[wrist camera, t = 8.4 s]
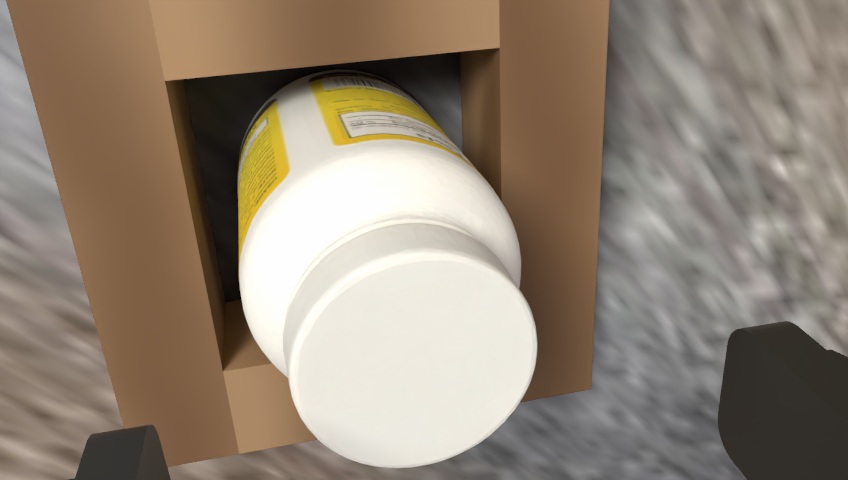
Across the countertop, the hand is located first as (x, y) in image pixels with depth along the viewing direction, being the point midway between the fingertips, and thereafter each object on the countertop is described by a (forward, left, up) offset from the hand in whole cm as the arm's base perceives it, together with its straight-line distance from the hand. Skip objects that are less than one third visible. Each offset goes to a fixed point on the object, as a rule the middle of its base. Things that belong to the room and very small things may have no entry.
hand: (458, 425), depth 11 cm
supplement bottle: (0, 0, -11) cm, 11 cm away
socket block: (0, 0, -11) cm, 11 cm away
